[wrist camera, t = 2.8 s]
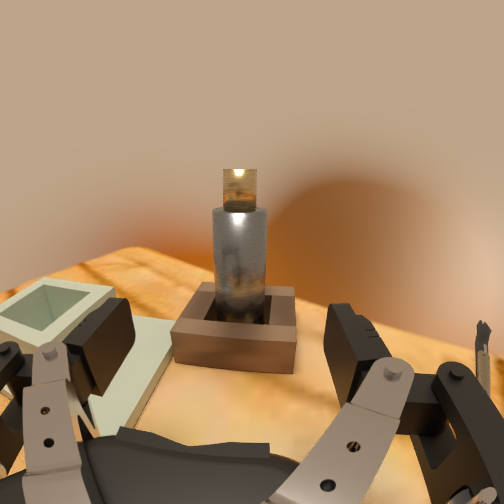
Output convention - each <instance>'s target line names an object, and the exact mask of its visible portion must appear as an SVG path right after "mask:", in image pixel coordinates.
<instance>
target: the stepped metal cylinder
mask: <svg viewBox="0 0 504 504" xmlns="http://www.w3.org/2000/svg"><path fill="white" fill-rule="evenodd" d="M256 174H257V169H223V207H220V208H216V209H213V211H212V214H213V249H214V276H215V297H216V315H217V321H219V322H231V323H244V324H259V325H264V313H265V279H266V277H265V276H266V241H267V240H266V238H267V209H264V208H261V207H256V181H257V180H256V179H257V177H256V176H257V175H256Z"/></svg>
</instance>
